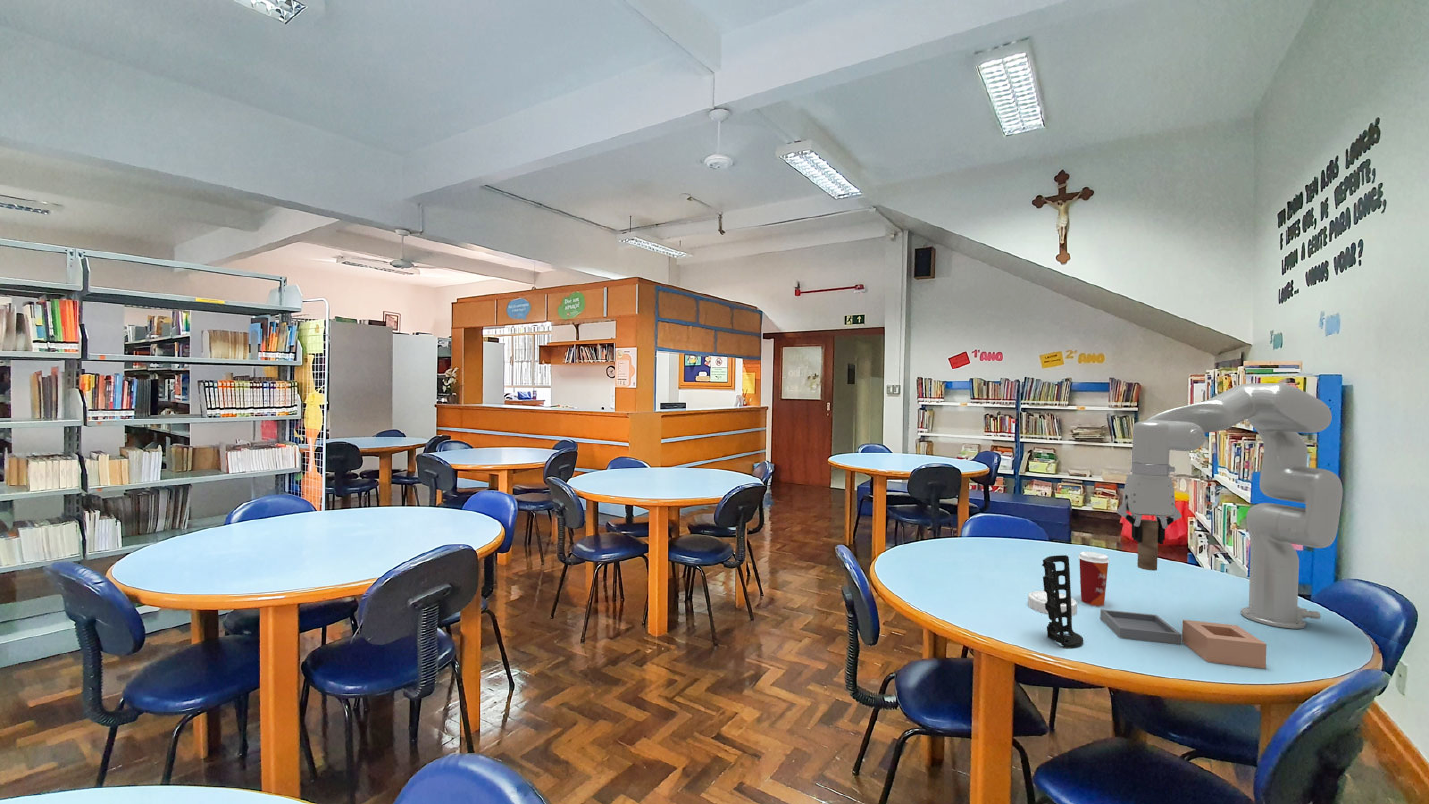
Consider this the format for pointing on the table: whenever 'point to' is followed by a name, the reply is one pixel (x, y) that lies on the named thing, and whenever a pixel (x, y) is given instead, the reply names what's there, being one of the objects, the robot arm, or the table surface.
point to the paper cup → (1093, 577)
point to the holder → (1059, 602)
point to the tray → (1140, 627)
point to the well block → (1224, 644)
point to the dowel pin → (1148, 545)
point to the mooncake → (1040, 598)
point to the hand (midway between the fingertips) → (1147, 541)
